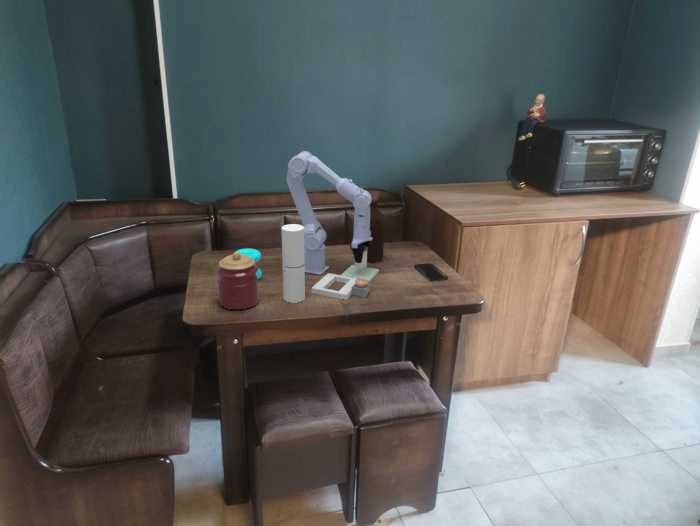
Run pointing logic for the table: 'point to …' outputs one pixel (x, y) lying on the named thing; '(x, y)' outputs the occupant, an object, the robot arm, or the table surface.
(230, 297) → the canister
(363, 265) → the cylinder
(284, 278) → the cylindrical container
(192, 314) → the table surface
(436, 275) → the phone
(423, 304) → the table surface
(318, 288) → the housing
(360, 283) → the plunger
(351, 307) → the table surface
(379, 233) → the olive oil
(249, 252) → the cyan rounded piece
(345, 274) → the mat
